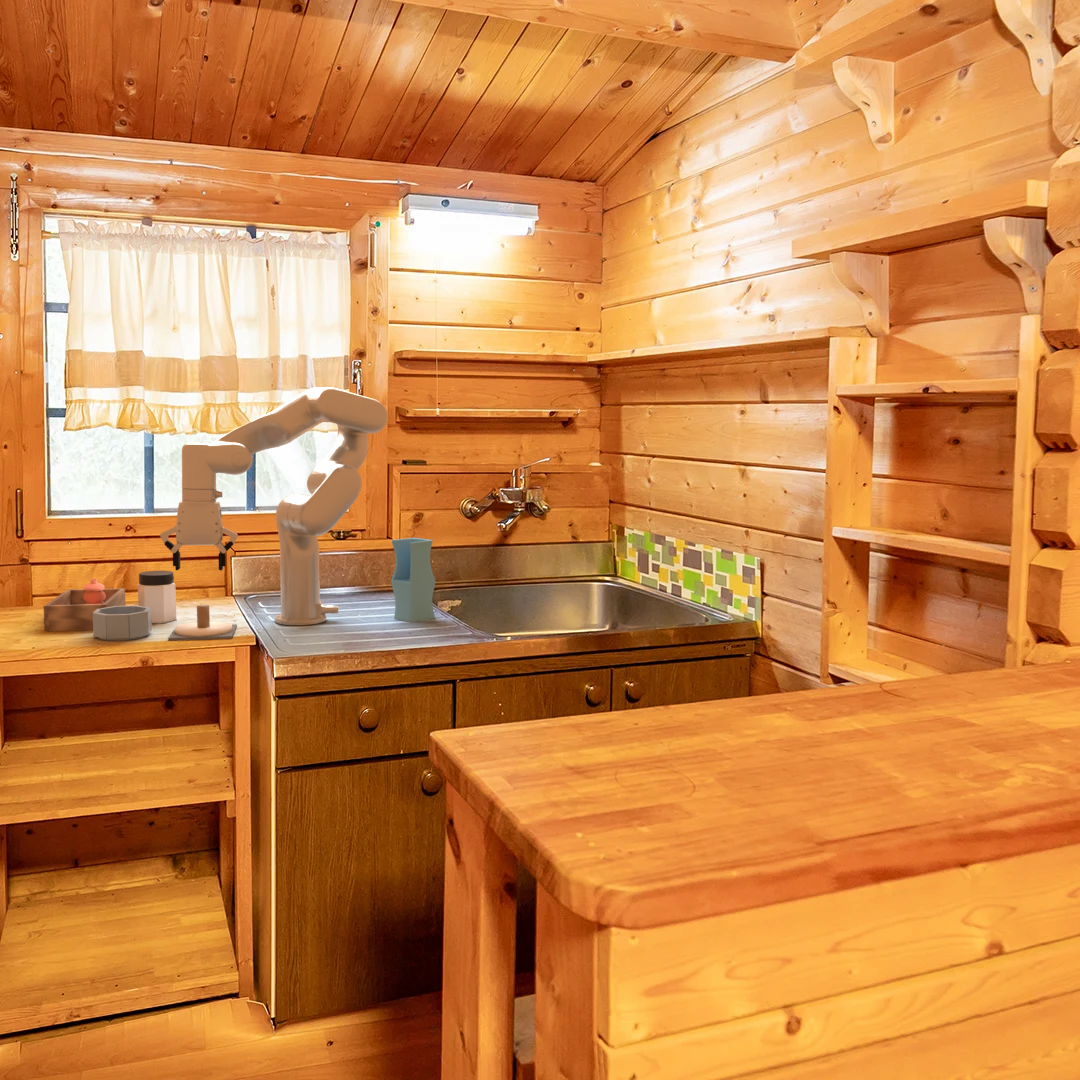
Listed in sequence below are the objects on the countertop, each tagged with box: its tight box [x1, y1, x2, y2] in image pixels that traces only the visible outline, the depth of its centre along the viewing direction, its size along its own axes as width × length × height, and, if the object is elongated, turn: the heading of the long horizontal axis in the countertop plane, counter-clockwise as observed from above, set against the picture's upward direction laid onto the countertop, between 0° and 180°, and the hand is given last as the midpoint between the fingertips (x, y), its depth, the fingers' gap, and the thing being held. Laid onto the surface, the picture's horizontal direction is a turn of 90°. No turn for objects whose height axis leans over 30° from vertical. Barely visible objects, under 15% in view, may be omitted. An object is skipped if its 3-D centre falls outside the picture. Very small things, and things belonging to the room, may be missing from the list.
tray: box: [43, 587, 126, 632], centre depth 271 cm, size 14×24×6 cm, turn 11°
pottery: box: [83, 578, 106, 604], centre depth 270 cm, size 18×10×10 cm, turn 5°
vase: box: [390, 537, 436, 623], centre depth 278 cm, size 8×8×20 cm
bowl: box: [92, 604, 153, 642], centre depth 254 cm, size 12×12×6 cm
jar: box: [137, 570, 177, 624], centre depth 272 cm, size 9×8×12 cm
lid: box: [173, 604, 232, 637], centre depth 257 cm, size 13×13×6 cm
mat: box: [167, 623, 238, 641], centre depth 258 cm, size 14×14×1 cm
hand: (199, 569), depth 256 cm, fingers open, 9 cm apart
